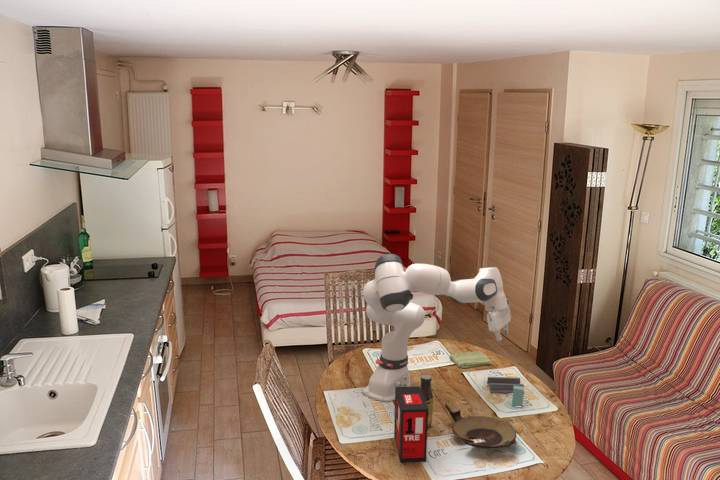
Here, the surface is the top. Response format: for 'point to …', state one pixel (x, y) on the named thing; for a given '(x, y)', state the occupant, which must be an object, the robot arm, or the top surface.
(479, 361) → the washcloth
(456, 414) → the frying pan
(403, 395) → the cleaning product box
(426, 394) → the sauce bottle
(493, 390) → the slotted rack
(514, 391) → the teal ridged block
